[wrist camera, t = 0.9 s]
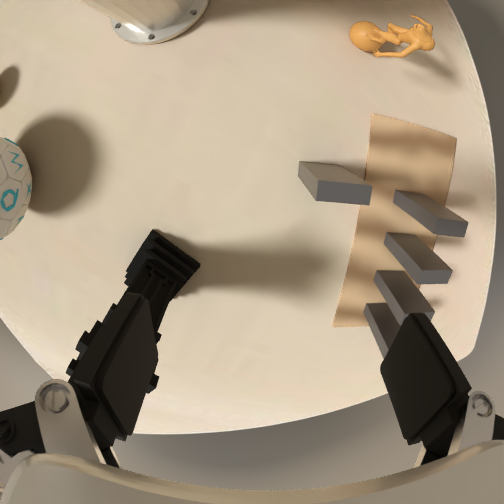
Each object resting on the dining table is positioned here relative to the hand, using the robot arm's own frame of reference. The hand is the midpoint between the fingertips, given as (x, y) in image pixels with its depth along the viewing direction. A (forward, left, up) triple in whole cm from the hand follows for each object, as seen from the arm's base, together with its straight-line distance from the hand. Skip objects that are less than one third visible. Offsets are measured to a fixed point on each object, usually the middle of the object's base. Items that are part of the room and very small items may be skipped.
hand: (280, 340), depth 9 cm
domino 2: (+18, +20, -25) cm, 37 cm away
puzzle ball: (-3, -38, -25) cm, 46 cm away
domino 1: (-2, +7, -25) cm, 26 cm away
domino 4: (+6, +20, -25) cm, 32 cm away
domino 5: (+12, +20, -25) cm, 34 cm away
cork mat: (+6, +20, -25) cm, 32 cm away
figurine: (-19, +12, -25) cm, 33 cm away
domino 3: (0, +20, -25) cm, 32 cm away
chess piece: (+12, -13, -25) cm, 31 cm away
